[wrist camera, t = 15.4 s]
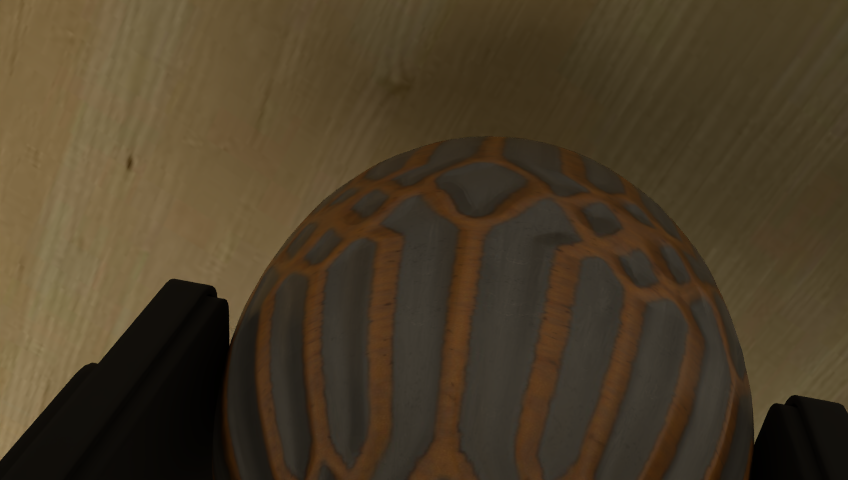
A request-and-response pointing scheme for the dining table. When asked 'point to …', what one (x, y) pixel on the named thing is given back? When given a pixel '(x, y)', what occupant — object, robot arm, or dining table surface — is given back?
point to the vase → (485, 332)
